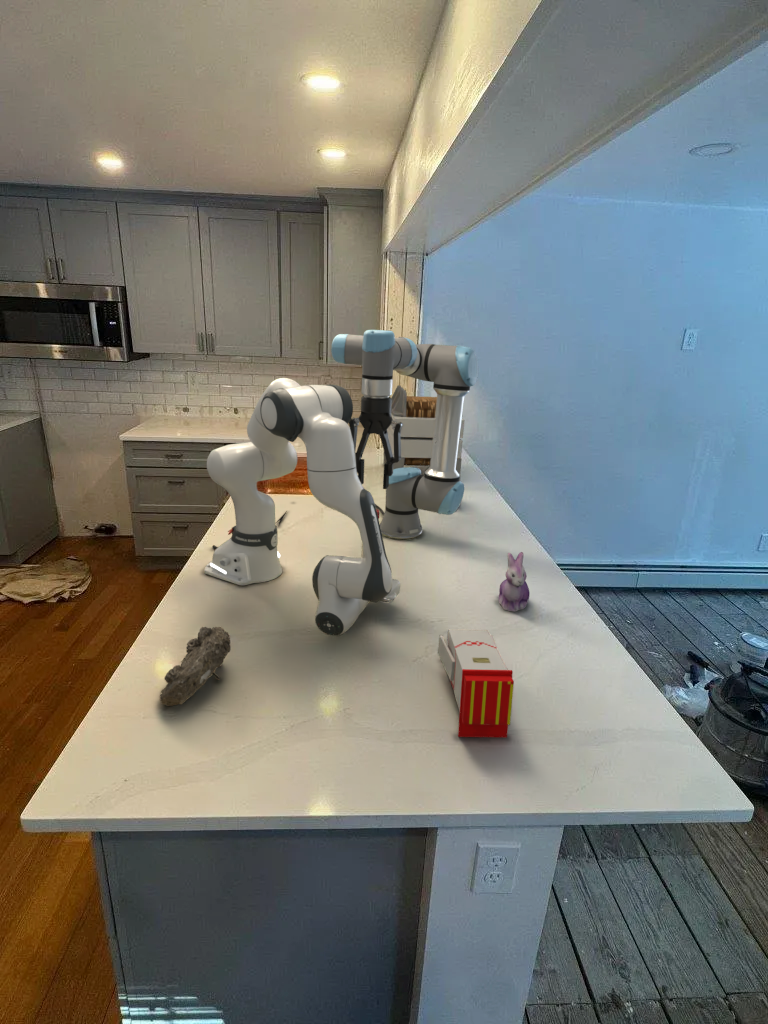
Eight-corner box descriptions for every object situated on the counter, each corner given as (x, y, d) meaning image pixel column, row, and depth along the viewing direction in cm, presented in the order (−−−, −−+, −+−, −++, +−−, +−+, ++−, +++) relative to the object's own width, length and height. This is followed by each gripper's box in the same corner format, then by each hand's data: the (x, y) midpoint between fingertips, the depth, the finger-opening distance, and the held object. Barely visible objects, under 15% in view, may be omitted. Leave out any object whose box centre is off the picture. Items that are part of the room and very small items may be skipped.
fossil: (184, 629, 128) (231, 598, 123) (214, 657, 131) (261, 628, 126) (138, 700, 109) (191, 667, 104) (173, 731, 112) (227, 701, 107)
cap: (363, 515, 151) (363, 508, 151) (377, 515, 152) (378, 508, 151) (366, 520, 148) (366, 513, 147) (380, 520, 148) (380, 512, 148)
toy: (488, 613, 130) (523, 677, 101) (484, 667, 133) (517, 744, 104) (435, 612, 130) (455, 676, 101) (432, 666, 133) (451, 743, 103)
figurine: (511, 616, 149) (518, 564, 143) (487, 598, 157) (493, 549, 152) (539, 609, 153) (547, 558, 148) (514, 592, 161) (521, 544, 156)
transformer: (382, 463, 289) (386, 382, 275) (445, 464, 293) (451, 384, 279) (390, 482, 257) (394, 392, 243) (460, 483, 261) (468, 394, 247)
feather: (294, 505, 227) (296, 501, 226) (277, 528, 200) (280, 524, 199) (290, 503, 226) (292, 499, 226) (273, 526, 200) (276, 521, 199)
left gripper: (392, 590, 140) (407, 568, 152) (316, 576, 145) (337, 555, 158) (391, 613, 142) (406, 589, 154) (316, 598, 148) (336, 576, 160)
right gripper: (417, 397, 140) (412, 486, 148) (344, 391, 145) (343, 477, 153) (410, 401, 133) (405, 494, 141) (334, 394, 138) (333, 485, 146)
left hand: (370, 572), depth 156 cm, fingers closed on bottle, 5 cm apart
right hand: (373, 485), depth 147 cm, fingers open, 6 cm apart
